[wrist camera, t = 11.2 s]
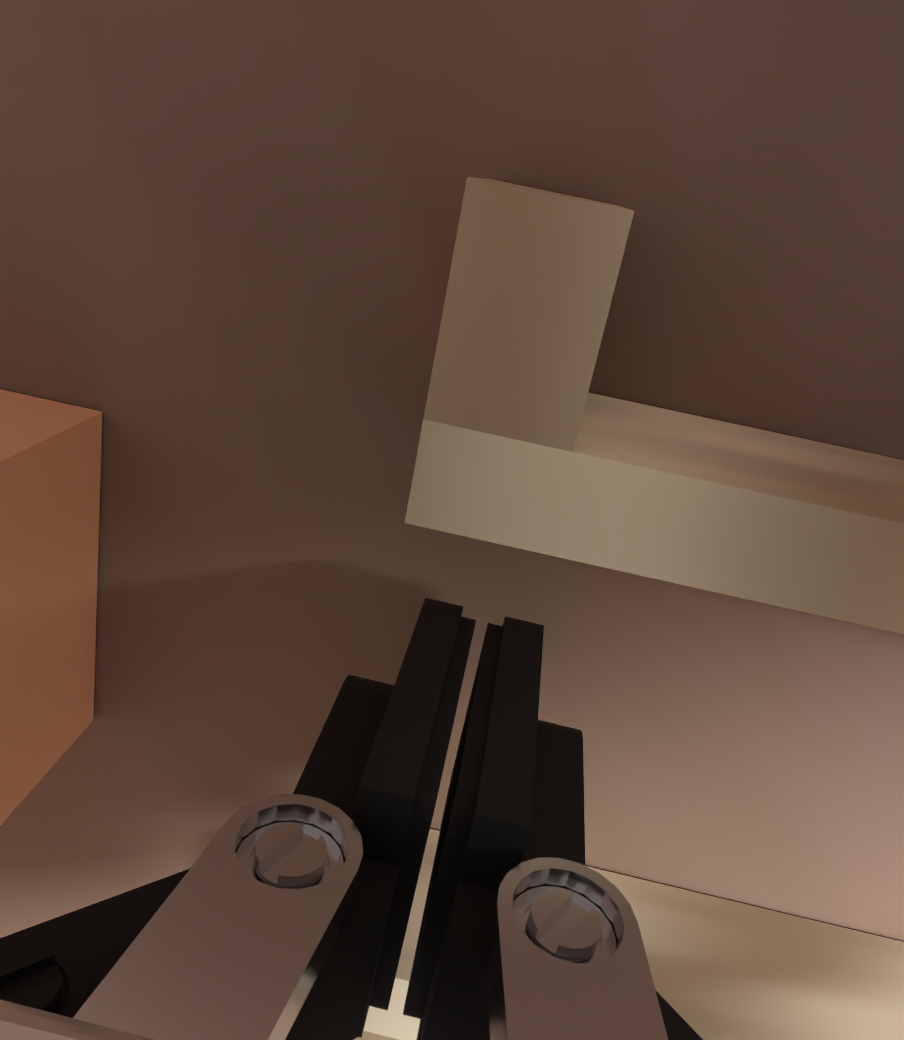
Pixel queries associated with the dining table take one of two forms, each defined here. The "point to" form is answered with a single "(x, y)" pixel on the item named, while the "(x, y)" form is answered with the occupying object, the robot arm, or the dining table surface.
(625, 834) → the dining table surface
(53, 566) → the block
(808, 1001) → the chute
